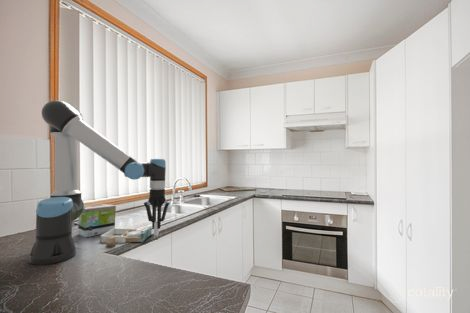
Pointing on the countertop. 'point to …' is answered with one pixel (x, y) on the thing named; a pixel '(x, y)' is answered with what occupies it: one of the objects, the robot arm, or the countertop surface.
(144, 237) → the tray
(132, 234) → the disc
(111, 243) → the stand
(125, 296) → the countertop surface
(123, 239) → the dock
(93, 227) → the tea box
